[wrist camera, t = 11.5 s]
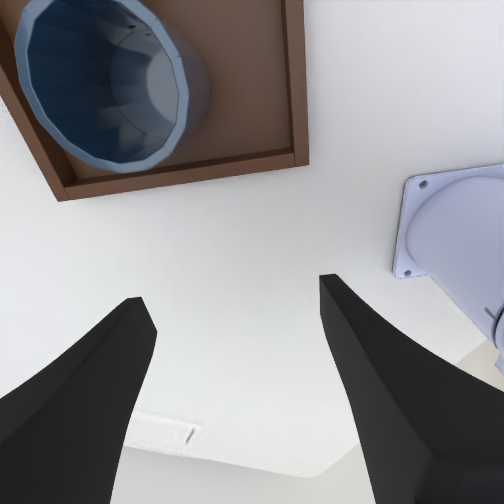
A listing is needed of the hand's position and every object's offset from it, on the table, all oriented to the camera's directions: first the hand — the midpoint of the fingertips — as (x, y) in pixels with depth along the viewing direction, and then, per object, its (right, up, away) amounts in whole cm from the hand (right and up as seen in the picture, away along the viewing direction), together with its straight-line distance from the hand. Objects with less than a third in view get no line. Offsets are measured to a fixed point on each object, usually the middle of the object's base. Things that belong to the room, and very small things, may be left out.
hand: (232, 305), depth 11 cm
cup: (-4, +12, +3) cm, 13 cm away
